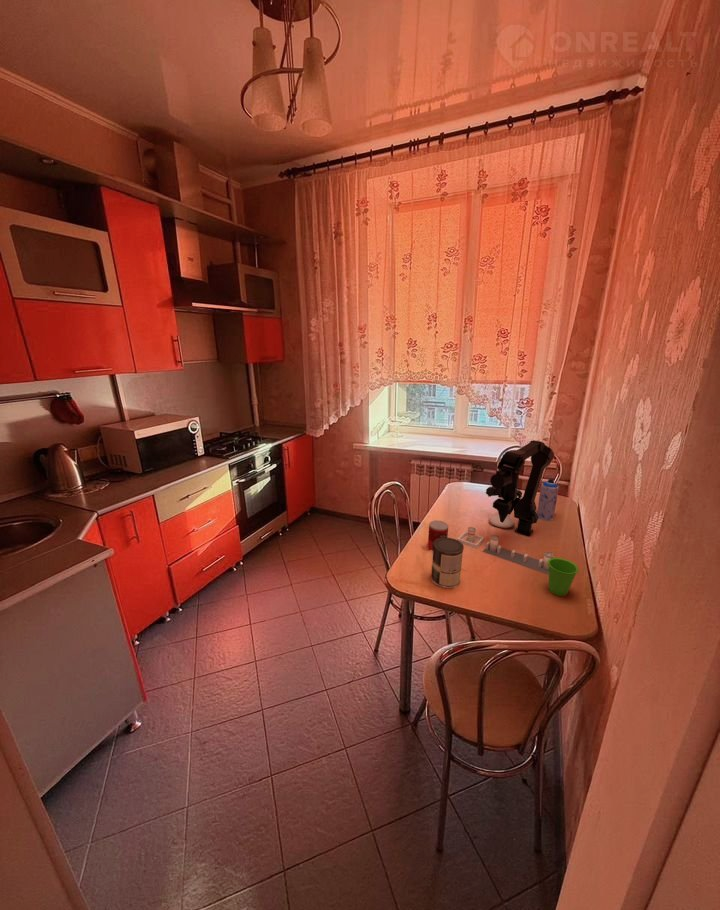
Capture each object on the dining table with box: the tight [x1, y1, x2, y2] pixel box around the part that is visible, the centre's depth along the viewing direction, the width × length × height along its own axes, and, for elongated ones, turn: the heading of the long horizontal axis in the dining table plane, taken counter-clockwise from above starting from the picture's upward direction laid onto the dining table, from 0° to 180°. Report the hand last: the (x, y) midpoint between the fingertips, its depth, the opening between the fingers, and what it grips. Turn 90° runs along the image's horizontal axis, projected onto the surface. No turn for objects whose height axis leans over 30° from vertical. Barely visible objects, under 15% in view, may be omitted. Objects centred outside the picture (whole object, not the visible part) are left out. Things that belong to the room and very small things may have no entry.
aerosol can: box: [536, 478, 560, 522], centre depth 174 cm, size 8×8×20 cm
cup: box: [548, 557, 579, 597], centre depth 120 cm, size 9×9×11 cm
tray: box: [456, 530, 485, 549], centre depth 152 cm, size 9×9×2 cm
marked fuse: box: [466, 526, 477, 544], centre depth 152 cm, size 3×3×6 cm
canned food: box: [427, 519, 449, 551], centre depth 147 cm, size 8×8×11 cm
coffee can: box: [430, 537, 465, 589], centre depth 126 cm, size 10×10×14 cm
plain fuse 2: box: [542, 551, 555, 571], centre depth 133 cm, size 3×3×6 cm
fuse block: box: [481, 541, 549, 576], centre depth 140 cm, size 8×26×3 cm, turn 51°
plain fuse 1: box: [489, 534, 500, 552], centre depth 145 cm, size 3×3×6 cm
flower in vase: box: [488, 497, 515, 529], centre depth 166 cm, size 13×11×25 cm
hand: (505, 518), depth 148 cm, fingers open, 9 cm apart
